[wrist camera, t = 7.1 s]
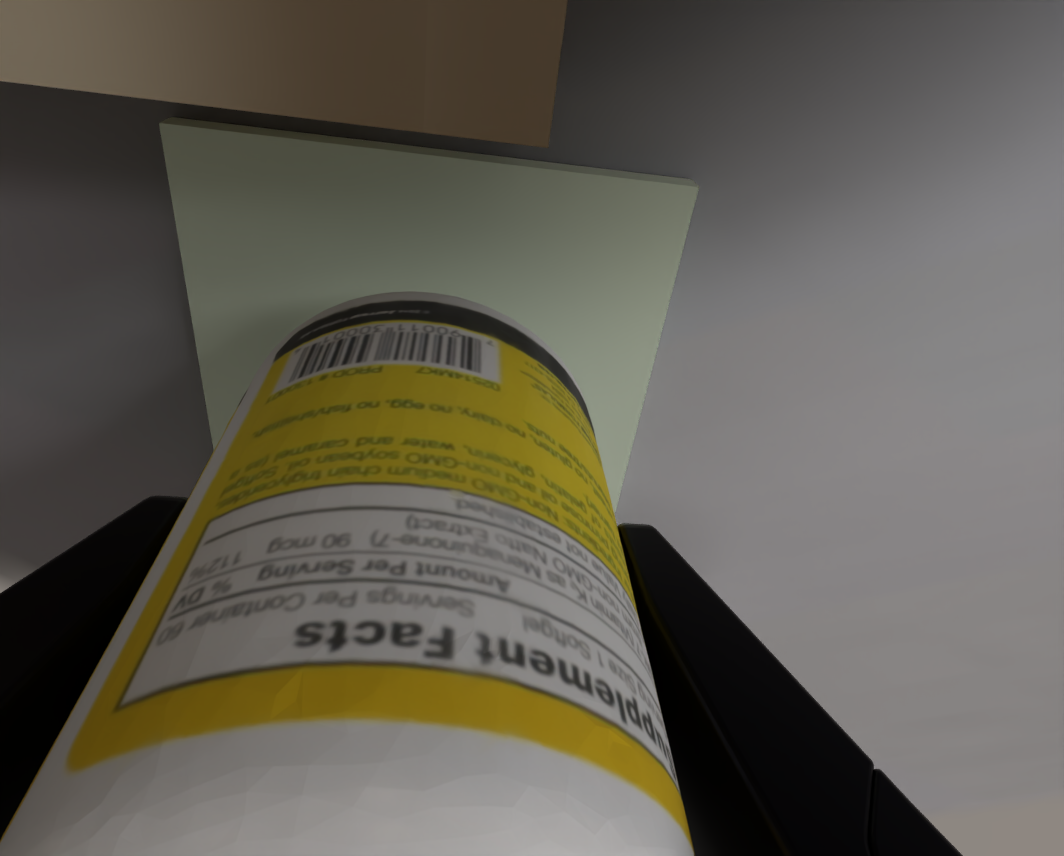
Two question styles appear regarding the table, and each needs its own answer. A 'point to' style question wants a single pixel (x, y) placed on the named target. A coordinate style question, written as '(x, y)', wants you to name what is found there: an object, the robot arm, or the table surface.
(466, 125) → the wooden box
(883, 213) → the table surface
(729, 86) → the table surface
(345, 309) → the supplement bottle
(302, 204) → the sage mat
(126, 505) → the table surface
